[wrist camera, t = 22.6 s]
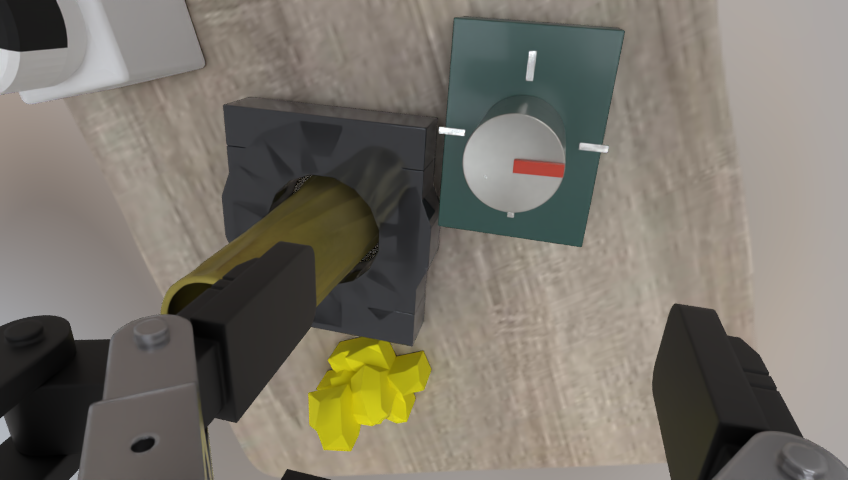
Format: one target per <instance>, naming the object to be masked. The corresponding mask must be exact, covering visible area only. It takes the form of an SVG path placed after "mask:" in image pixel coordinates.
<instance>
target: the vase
mask: <svg viewBox="0 0 848 480" xmlns="http://www.w3.org/2000/svg"><path fill="white" fill-rule="evenodd" d="M378 237H379V230H378V227H377V224H376V222H375V219H374V216H373V214H372V211H371V208H370V207H369V206H368V205H367V203H366V202H365V201H364V200H363V199H362V198H361V197H360V195H359V194H358V193H357V192H356V191H355V190H354V189H352V188H351V187H349V186H347V185H345V184H344V183H342V182H340V181H338V180H336V179H335V178H331V177H324V176H316V175H313V176H311V177H310V178H309V179H307V180H306V181H305V182H304V183H303V184H302V185H301V187H300V188H299V190H298V191H296V192H295V193H294V194H293V195H291V196H290V197H289V198H287V199H286V200H285V201H284V202H282V203H281V204H280V205H279V206H277V207H276V208H275V209H274V210H272V211H271V212H270V213H269V214H268V215H267V216H265V217H264V218H263V219H261V220H260V221H259V222H257V223H256V224H255V225H253V226H252V227H251V228H250V229H248V230H247V231H246V232H244V233H243V234H242V235H240V236H239V237H237V238H236V239H235V240H233V241H232V242H230V243H229V244H228V245H226V246H225V247H224V248H222V249H221V250H219V251H218V252H217V253H215V254H214V255H213V256H211V257H210V258H208V259H207V260H206V261H204V262H203V263H202V264H201V265H200V266H199V267H197V268H196V269H195V270H193V271H192V272H191V273H189V274H188V275H186V276H185V277H183V278H182V279H180V280H179V281H177V282H176V283H175V284H173V285H172V286H171V287H170V288H169V290H168V291H167V293H166V295H165V297H164V300H163V303H162V307H161V314H169V315H176V314H177V313H179V312H180V311H181V310H182V309H184V308H185V307H186V306H187V305H188V304H190V303H191V302H192V301H193V300H195V299H196V298H197V297H198V296H199V295H201V294H202V293H203V292H204V291H206V290H207V289H208V288H211V286H212V285H213V284H214V283H215V282H217V281H218V280H219V279H222V277H223V276H224V275H225V274H226V273H228V272H229V271H230V270H231V269H233V268H234V267H235V266H236V265H239V264H241V263H244V262H246V261H248V260H251V259H253V258H255V257H256V258H260V257H261V256H262V255H263V254H264V253H266V252H267V251H268V250H269V249H270V248H272V247H273V246H274V245H275V244H276V243H278V242H279V241H284V242H291V243H297V244H303V245H310V246H311V247H312V248H313V250H314V254H315V274H316V301H317V305H316V307H317V306H318V305H319V304H320V303H321V302H322V301H323V299H324V298H325V297H326V296H327V295H328V294H329V293H330V292H331V291H332V290H333V288H334V287H335V286H336V285H337V284H338V283H339V282H340V281H341V280H342V279H343V278H344V277H345V276H346V275H347V274H348V273H349V272H350V271H351V270H352V269H353V268H354V267H355V266H356V265H357V264H358V263H359V262H360V261H361V260H362V259H363V257H364V256H365V255H366V254H367V253H368V252H369V251H371V250H372V249H373V248H374V247H375V246H376V244H377V243H378Z"/></svg>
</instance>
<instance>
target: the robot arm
mask: <svg viewBox="0 0 848 480" xmlns="http://www.w3.org/2000/svg"><path fill="white" fill-rule="evenodd" d="M316 305H317V301H316V274H315V254H314V250H313V248H312V247H311V246H310V245H303V244H297V243H291V242H284V241H279V242H278V243H276V244H275V245H274V246H273V247H272V248H270V249H269V250H268V251H267V252H266V253H264V254H263V255H262V256H261V257H260V258H256V257H255V258H253V259H251V260H248V261H246V262H244V263H241V264H239V265H236V266H235V267H234V268H233V269H231V270H230V271H229V272H228V273H226V274H225V275H224V276H223V277H222V279H219V280H218V281H217V282H215V283H214V284H213V285H212V286H211V288H208V289H207V290H206V291H204V292H203V293H202V294H201V295H199V296H198V297H197V298H196V299H195V300H193V301H192V302H191V303H190V304H188V305H187V306H186V307H185V308H184V309H182V310H181V311H180V312H179V313H177V314H176V315H169V314H160V315H152V316H148V317H143V318H140V319H137V320H134V321H132V322H130V323H128V324H126V325H124V326H122V327H121V328H120V329H118V330H117V331H116V332H115V333H114V334H113V336H112V337H111V339H107V340H106V339H104V340H74V338H73V334H72V330H71V326H70V323H69V322H68V321H67V320H66V319H64V318H62V317H57V316H50V315H43V316H33V317H27V318H23V319H19V320H16V321H12V322H10V323H7V324H5V325H2V326H0V418H1V417H2V416H4V418H5V420H6V423H7V426H8V429H9V432H10V434H11V436H10V437H9V438H8V439H7V440H5V441H4V442H3V443H2V444H1V445H0V480H69V479H70V478H71V477H72V476H73V475H74V474H75V473H76V472H77V471H78V469H79V474H78V480H214V477H213V468H212V459H211V450H210V442H209V433H208V427H207V426H208V425H209V424H210V423H211V422H212V420H213V419H214V418H218V419H222V420H226V421H231V422H235V423H237V422H238V421H239V419H240V418H241V417H242V416H243V414H244V413H245V412H246V410H247V409H248V408H249V406H250V405H251V404H252V403H253V401H254V400H255V399H256V397H257V396H258V395H259V394H260V392H261V391H262V390H263V388H264V387H265V386H266V385H267V383H268V382H269V381H270V379H271V378H272V377H273V375H274V374H275V373H276V372H277V370H278V369H279V368H280V366H281V365H282V364H283V363H284V361H285V360H286V359H287V357H288V356H289V355H290V353H291V352H292V351H293V350H294V348H295V347H296V346H297V344H298V343H299V342H300V341H301V339H302V338H303V337H304V335H305V334H306V333H307V332H308V330H309V329H310V327H311V325H312V323H313V320H314V317H315V313H316ZM776 389H777V387H776V385H775V383H774V381H773V379H772V378H771V376H769V372H768V370H767V368H766V367H765V364H764V363H763V361H762V359H761V357H760V355H759V354H758V353H757V352H756V351H754V350H753V349H752V348H751V347H750V346H749V345H748V344H747V343H745V342H744V341H743V340H742V339H741V338H738V337H732V336H727V334H726V332H725V330H724V328H723V326H722V324H721V321H720V319H719V317H718V315H717V313H716V311H715V310H713V309H708V308H701V307H695V306H688V305H682V304H674V305H673V306H672V308H671V310H670V313H669V316H668V319H667V323H666V327H665V330H664V334H663V337H662V341H661V344H660V348H659V351H658V355H657V358H656V362H655V366H654V371H653V381H652V390H653V397H654V402H655V406H656V411H657V416H658V421H659V425H660V430H661V435H662V439H663V444H664V449H665V453H666V458H667V463H668V467H669V472H670V477H671V480H848V468H847V467H846V466H845V465H844V464H843V463H842V462H841V461H840V460H839V459H838V458H837V457H835V456H834V455H833V454H832V453H830V452H829V451H827V450H826V449H824V448H823V447H821V446H819V445H817V444H815V443H813V442H811V441H809V440H807V439H805V438H803V436H802V434H801V432H800V430H799V428H798V426H797V425H796V423H795V421H794V419H793V417H792V415H791V413H790V411H789V410H788V408H787V406H786V404H785V402H784V400H783V398H782V397H781V394H780V393H779V391H777V390H776ZM281 480H330V479H326V478H322V477H318V476H314V475H310V474H305V473H301V472H297V471H293V470H289V469H287V470H286V472H285V474H284V475H283V477H282V479H281Z"/></svg>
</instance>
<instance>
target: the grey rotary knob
mask: <svg viewBox="0 0 848 480" xmlns="http://www.w3.org/2000/svg"><path fill="white" fill-rule="evenodd" d="M565 164H566V135H565V128H564V124H563V122H562V119H561V117H560V115H559V114H558V113H557V111H556V110H555V109H554V108H553V107H552V106H551V105H550V104H548V103H547V102H545V101H544V100H542V99H539V98H537V97H533V96H527V95H518V96H512V97H509V98H506V99H504V100H502V101H500V102H498V103H497V104H496V105H494V106H493V107H492V108H491V109H490V110H489V111H488V112H487V114H486V115H485V116H484V118H483V119H482V121H481V122H480V123H479V125H478V126H477V128H476V129H475V130H474V132H473V133H472V135H471V136H470V138H469V140H468V141H467V144H466V146H465V149H464V153H463V173H464V177H465V180H466V182H467V184H468V186H469V188H470V190H471V191H472V192H473V194H474V195H475V196H476V197H477V198H478V199H479V200H480V201H482V202H483V203H484V204H486V205H488V206H489V207H491V208H494V209H496V210H499V211H504V212H512V213H516V212H524V211H529V210H532V209H534V208H537V207H539V206H540V205H542V204H544V203H545V202H546V201H548V200H549V199H550V198H551V197H552V196H553V195H554V194H555V192H556V191H557V189H558V188H559V186H560V184H561V182H562V179H563V177H564V172H565Z"/></svg>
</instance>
